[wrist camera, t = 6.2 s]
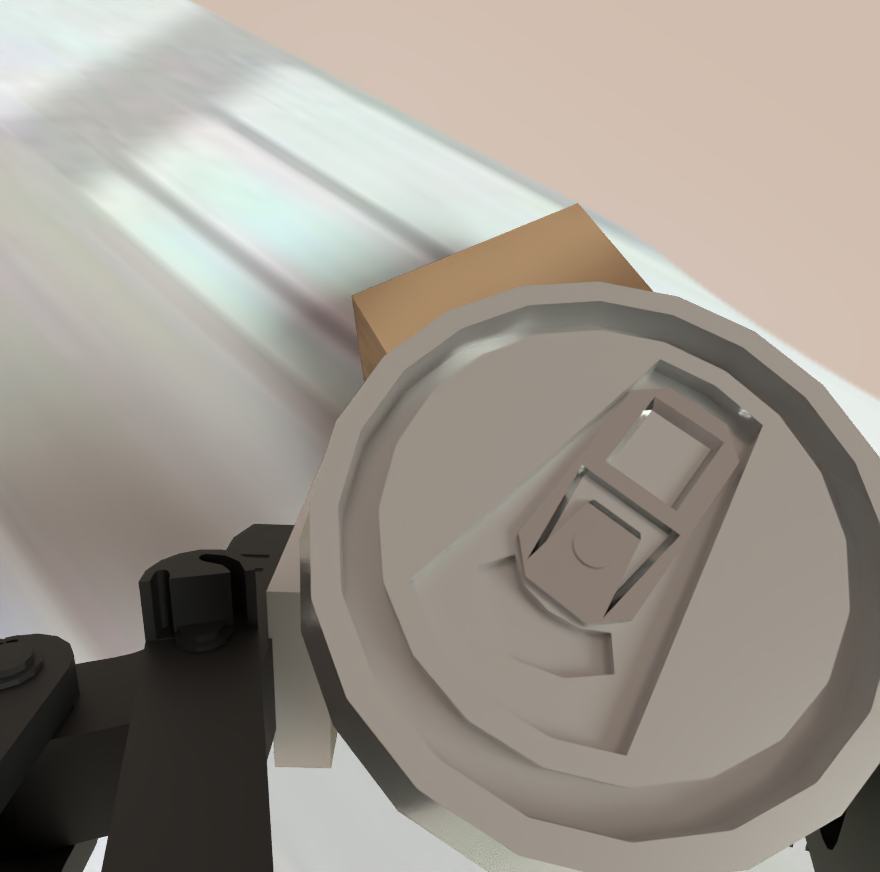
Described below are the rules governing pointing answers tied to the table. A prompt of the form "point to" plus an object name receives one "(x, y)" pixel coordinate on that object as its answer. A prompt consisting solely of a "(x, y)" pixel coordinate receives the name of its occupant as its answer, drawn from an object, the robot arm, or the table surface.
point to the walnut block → (488, 278)
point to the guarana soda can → (599, 586)
